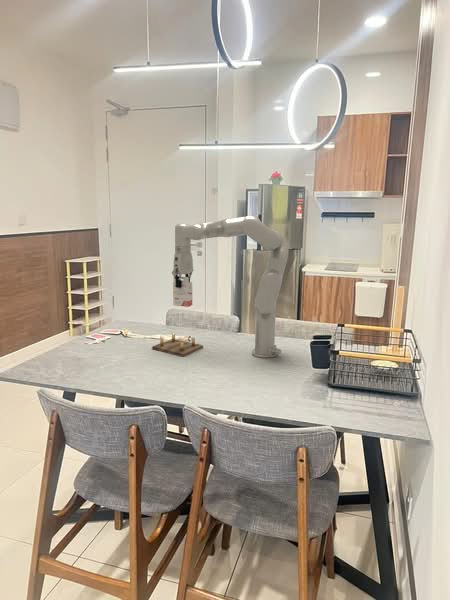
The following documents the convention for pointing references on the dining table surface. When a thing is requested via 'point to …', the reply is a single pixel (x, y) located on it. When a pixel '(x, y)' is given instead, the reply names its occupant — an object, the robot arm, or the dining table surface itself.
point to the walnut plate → (177, 347)
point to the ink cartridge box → (182, 293)
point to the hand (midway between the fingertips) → (182, 286)
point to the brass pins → (174, 341)
